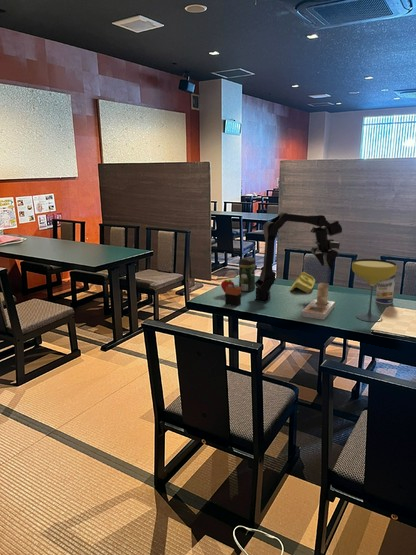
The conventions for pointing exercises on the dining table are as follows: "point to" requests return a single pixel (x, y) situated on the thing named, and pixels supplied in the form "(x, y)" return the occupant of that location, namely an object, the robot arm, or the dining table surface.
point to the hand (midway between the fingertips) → (327, 267)
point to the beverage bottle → (385, 290)
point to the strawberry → (226, 284)
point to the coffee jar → (247, 274)
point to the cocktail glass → (373, 278)
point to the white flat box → (318, 310)
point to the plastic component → (304, 282)
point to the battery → (233, 295)
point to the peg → (322, 293)
